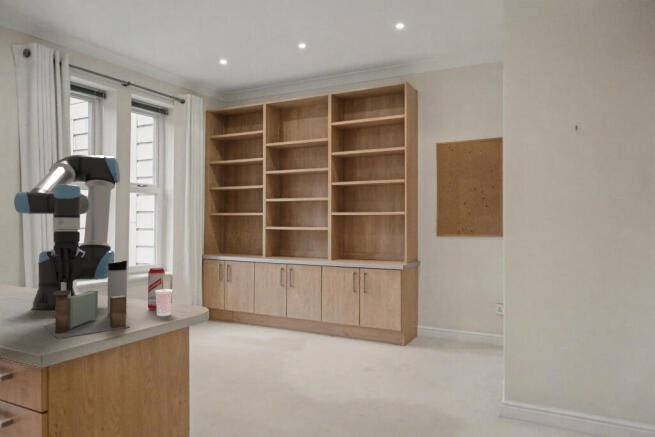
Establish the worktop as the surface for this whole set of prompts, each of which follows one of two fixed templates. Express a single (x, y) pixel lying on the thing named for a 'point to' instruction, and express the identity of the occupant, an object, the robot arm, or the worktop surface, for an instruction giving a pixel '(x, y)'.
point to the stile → (117, 311)
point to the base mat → (86, 328)
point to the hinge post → (61, 311)
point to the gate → (82, 308)
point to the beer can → (154, 285)
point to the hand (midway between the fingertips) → (65, 301)
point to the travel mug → (117, 281)
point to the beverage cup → (163, 300)
